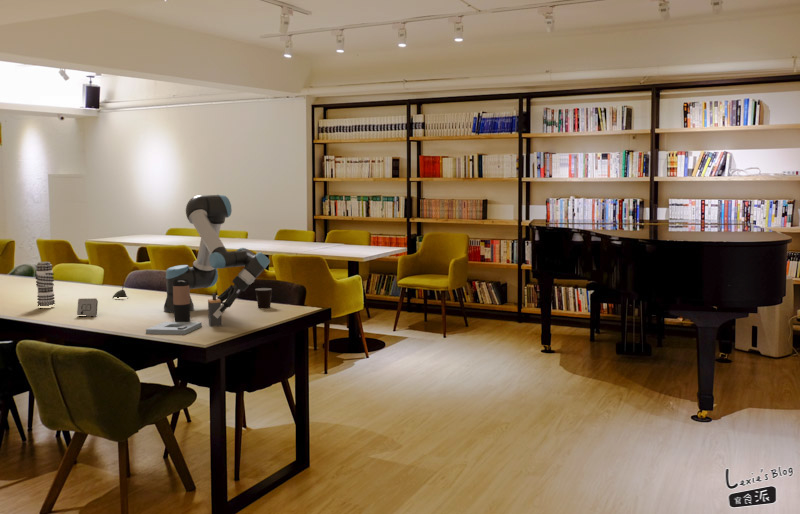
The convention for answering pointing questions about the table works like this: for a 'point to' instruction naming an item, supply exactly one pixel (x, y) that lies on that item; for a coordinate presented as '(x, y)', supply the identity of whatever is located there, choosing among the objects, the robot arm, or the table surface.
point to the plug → (212, 308)
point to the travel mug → (181, 300)
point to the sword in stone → (120, 293)
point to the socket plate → (174, 328)
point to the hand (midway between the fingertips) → (212, 314)
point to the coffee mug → (263, 297)
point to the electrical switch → (87, 307)
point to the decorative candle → (45, 284)
